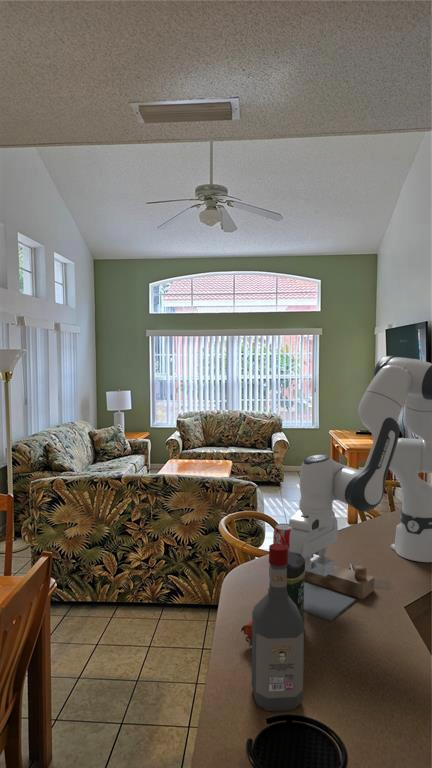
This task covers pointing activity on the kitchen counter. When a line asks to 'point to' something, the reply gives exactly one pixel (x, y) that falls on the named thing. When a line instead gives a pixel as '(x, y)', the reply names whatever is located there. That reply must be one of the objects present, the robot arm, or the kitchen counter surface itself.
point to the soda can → (282, 535)
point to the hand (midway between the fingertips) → (314, 565)
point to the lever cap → (321, 565)
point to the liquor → (277, 641)
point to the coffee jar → (296, 580)
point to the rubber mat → (324, 602)
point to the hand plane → (345, 580)
